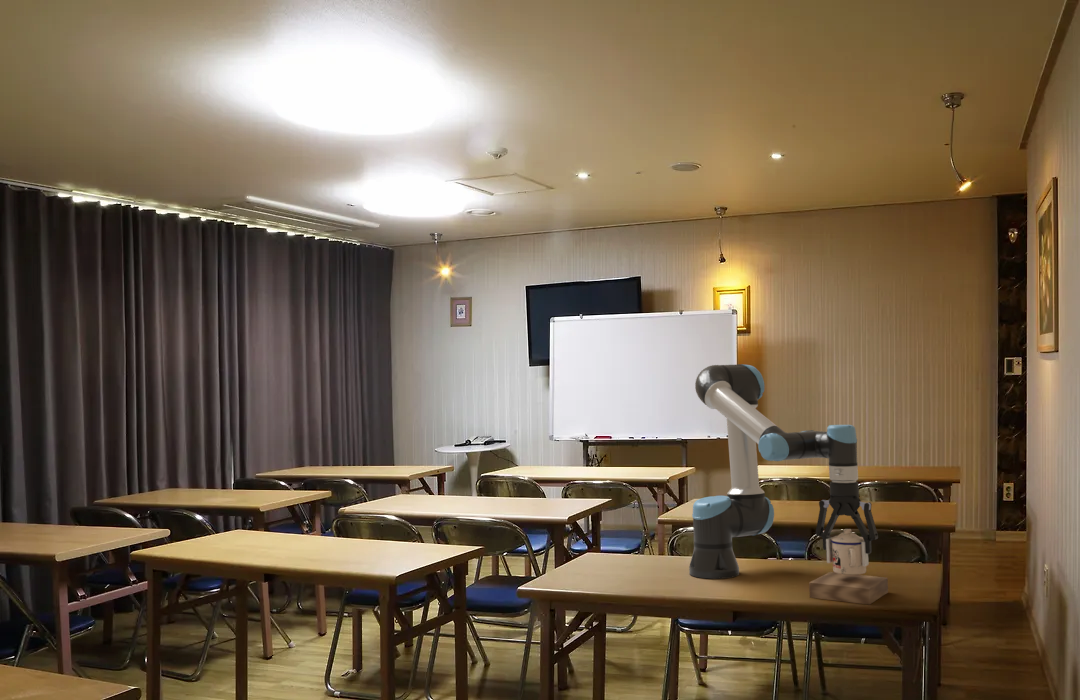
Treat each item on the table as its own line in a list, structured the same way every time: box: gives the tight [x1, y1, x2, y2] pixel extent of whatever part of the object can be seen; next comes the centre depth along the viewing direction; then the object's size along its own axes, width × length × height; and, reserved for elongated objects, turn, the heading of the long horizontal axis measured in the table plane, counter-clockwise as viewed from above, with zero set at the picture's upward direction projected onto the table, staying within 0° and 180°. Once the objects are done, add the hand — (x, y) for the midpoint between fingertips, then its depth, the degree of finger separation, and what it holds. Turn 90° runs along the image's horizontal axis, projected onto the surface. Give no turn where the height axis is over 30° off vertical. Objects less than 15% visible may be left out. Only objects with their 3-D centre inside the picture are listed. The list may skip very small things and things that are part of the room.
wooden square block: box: [808, 571, 889, 605], centre depth 245 cm, size 16×16×4 cm
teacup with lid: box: [831, 528, 867, 575], centre depth 246 cm, size 12×9×12 cm
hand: (847, 563), depth 246 cm, fingers closed on teacup with lid, 9 cm apart
